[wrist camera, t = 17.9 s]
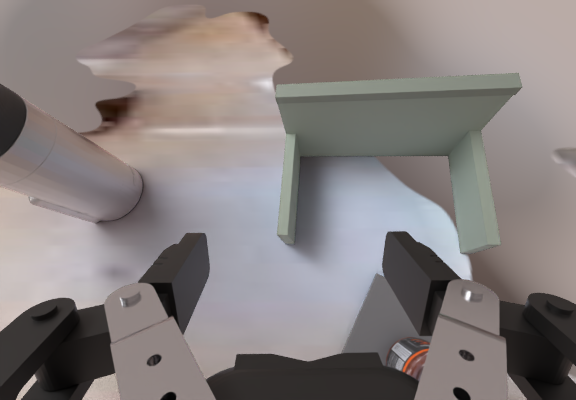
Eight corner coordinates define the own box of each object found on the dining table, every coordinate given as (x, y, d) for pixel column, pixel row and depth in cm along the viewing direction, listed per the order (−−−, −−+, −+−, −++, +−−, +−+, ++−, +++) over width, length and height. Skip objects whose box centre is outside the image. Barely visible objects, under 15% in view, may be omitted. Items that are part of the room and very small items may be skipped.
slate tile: (458, 479, 26) (463, 486, 25) (325, 390, 30) (324, 393, 29) (501, 337, 29) (507, 339, 28) (375, 274, 33) (377, 273, 32)
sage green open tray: (471, 253, 32) (557, 228, 20) (285, 243, 36) (261, 217, 24) (456, 146, 36) (518, 72, 24) (293, 148, 40) (276, 84, 28)
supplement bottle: (450, 350, 28) (520, 383, 18) (437, 412, 27) (506, 489, 16) (392, 326, 30) (425, 343, 19) (377, 384, 28) (404, 437, 18)
